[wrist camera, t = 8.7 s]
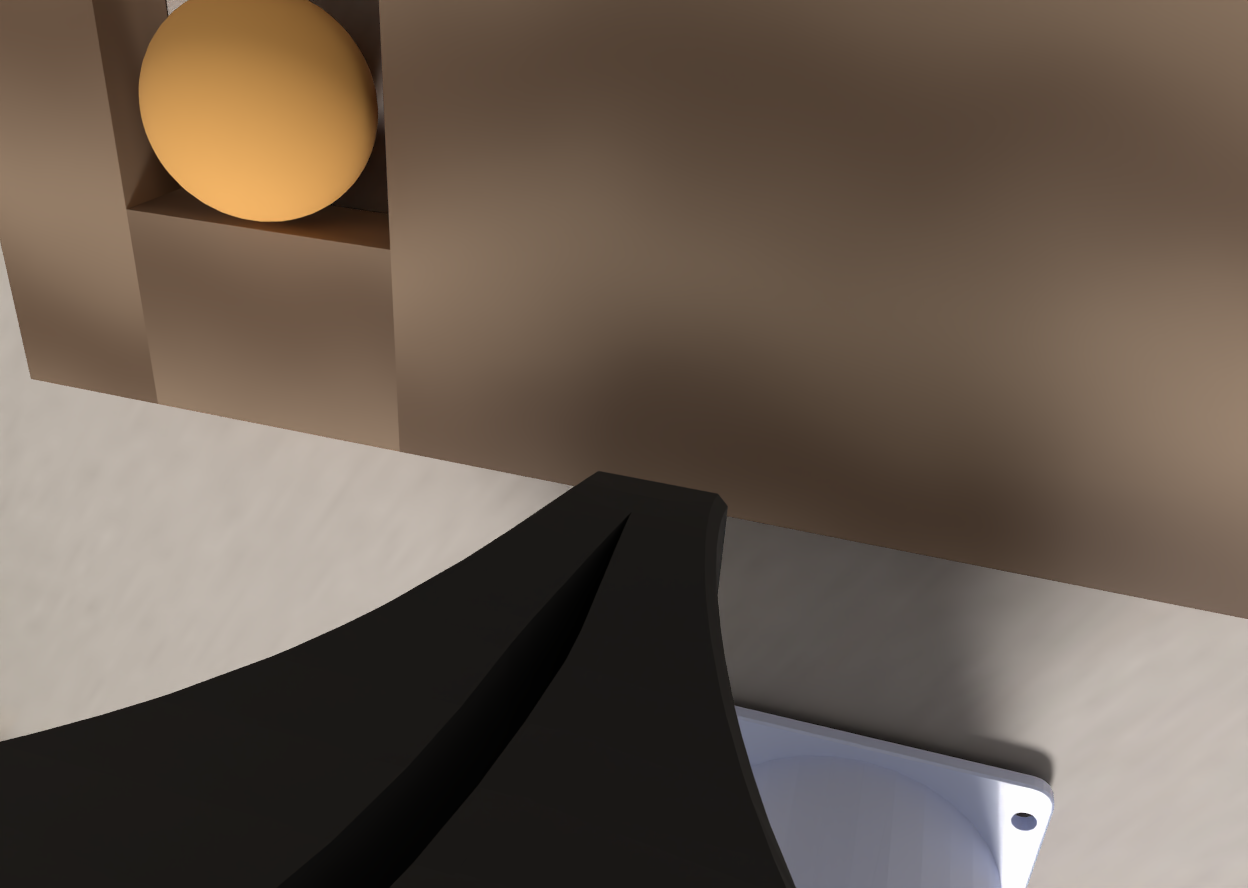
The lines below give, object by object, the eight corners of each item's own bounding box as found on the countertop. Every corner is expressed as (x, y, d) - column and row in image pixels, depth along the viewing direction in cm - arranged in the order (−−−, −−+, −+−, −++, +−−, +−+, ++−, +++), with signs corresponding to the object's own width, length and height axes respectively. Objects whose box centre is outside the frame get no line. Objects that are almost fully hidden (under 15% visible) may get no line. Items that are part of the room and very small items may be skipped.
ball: (431, 207, 21) (262, 284, 18) (292, 152, 22) (119, 214, 20) (416, -11, 18) (219, 41, 16) (262, -54, 20) (62, -14, 17)
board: (1312, 572, 20) (1344, 638, 18) (94, 345, 25) (31, 379, 24) (1730, -380, 13) (1846, -421, 11) (-48, -403, 19) (-151, -432, 17)
